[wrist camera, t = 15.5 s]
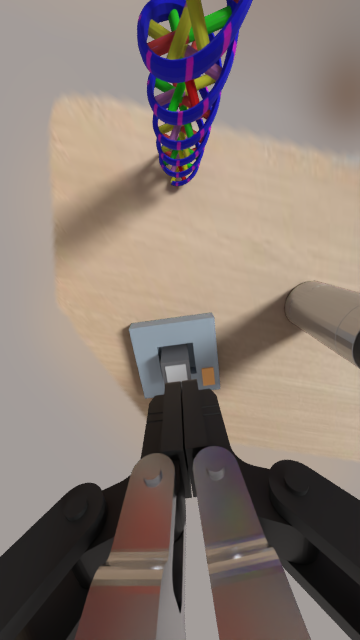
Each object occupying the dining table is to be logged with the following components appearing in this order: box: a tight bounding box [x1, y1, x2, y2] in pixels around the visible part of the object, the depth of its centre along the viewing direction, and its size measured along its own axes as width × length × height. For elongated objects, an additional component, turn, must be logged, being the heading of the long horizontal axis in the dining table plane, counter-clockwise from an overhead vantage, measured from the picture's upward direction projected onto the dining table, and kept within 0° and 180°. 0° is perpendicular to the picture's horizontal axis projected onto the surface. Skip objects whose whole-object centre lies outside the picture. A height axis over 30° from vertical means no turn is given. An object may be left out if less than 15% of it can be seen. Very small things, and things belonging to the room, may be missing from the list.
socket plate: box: [129, 312, 220, 398], centre depth 44 cm, size 16×16×3 cm
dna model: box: [137, 0, 253, 186], centre depth 20 cm, size 6×6×30 cm
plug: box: [160, 343, 191, 385], centre depth 42 cm, size 5×5×7 cm
